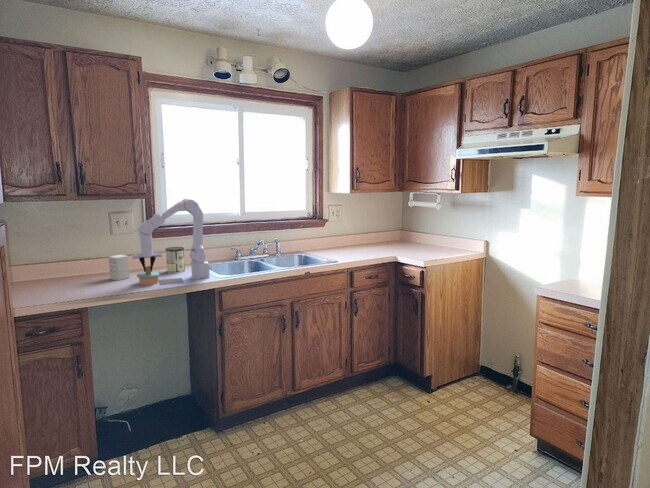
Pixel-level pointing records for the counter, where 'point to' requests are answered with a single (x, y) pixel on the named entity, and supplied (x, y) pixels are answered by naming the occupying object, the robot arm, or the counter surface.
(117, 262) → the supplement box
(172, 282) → the mat
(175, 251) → the coffee can
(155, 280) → the bowl
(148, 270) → the lid
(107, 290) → the counter surface
